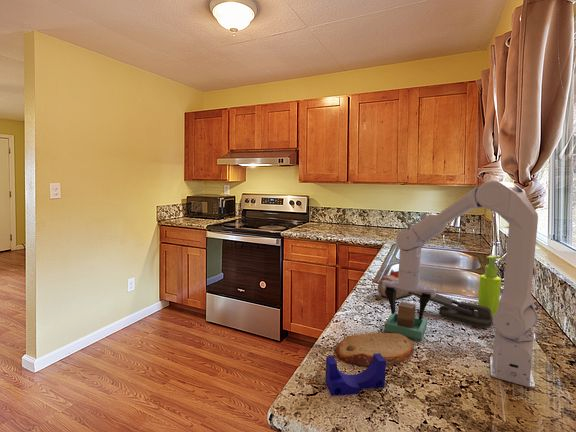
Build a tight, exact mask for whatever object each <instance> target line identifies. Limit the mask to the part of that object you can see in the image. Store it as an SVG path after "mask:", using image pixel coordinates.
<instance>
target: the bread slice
mask: <svg viewBox="0 0 576 432" xmlns="http://www.w3.org/2000/svg"><path fill="white" fill-rule="evenodd" d="M336 346H337V347H336V350H335V352H336V354H335V355H336V358H337V359H338V360H340V361H342V362H343V363H345V364H349V365H358V366H360V367H366V368H368V366H369V365H370V363H371V362H372V359H373V354H378V353H380V354H381V355H382V356H383V358H384V359H385V360H386V367H388V366H394V365H396V364H399V363H403V362H405V361H407V360H409V359H410V358H411V357H413V355H414V353H415V352H414V351H415V348H414V344H413V343H412V340H410V338H407V337H406V336H403V335H401V334H396V333H387V332H373V333H365V334H362V333H360V334H352V335H350V334H349V335H348V336H347V335H346V337H344V338H343V339H342V340H340V341H339V343H338V345H336Z"/></svg>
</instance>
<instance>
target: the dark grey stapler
mask: <svg viewBox="0 0 576 432" xmlns="http://www.w3.org/2000/svg"><path fill="white" fill-rule="evenodd" d="M408 293H409V294H411V295H410V296H414V297H418V298H420V296H421V295H422V294H418V293H412V292H408ZM429 302H432V303H435V304H439V305H441V306H439V309H438V311H439V312H438V313H439V314H438V315H440V317H441V318H444V319H447V320H450V321H452V322H457V323H459V324H464V325H467V326H471V327H474V328H479V329H488V328H491V326H492V325H493V321H492V314H491V310H490V309H489V308H488V307H485V306H480V305H478V304H476V303H471V302H466V301H457V300H454V299H453V298H450V297H447V296H444V295H441V294H439V293H436V295H435V297H431V298H430V300H429Z"/></svg>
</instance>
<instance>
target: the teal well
mask: <svg viewBox="0 0 576 432" xmlns="http://www.w3.org/2000/svg"><path fill="white" fill-rule="evenodd" d="M383 326H384V328H383V333H396V334H401V335H403V336H406V337H407V338H408V339H412V340H416V341H419V342H421V341H422V340H423V337H424V334H425V332H426V330H427V327H428V319H426V318H422V320H419V317H417V316H415V324H414V329H412V328H408V327H404V326H399V325H398V312H395V313H394V314H390V316H389V317H388V318H387V319H386V321H385V322H384V325H383Z"/></svg>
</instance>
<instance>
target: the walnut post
mask: <svg viewBox="0 0 576 432" xmlns="http://www.w3.org/2000/svg"><path fill="white" fill-rule="evenodd" d="M416 305H417V304H416V303H411V302H406V301H401V302H399V304H398V308H397V309H398V310H397V313H398V325H399V326H404V327H408V328H412V329H414V324H415V317H416Z"/></svg>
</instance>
